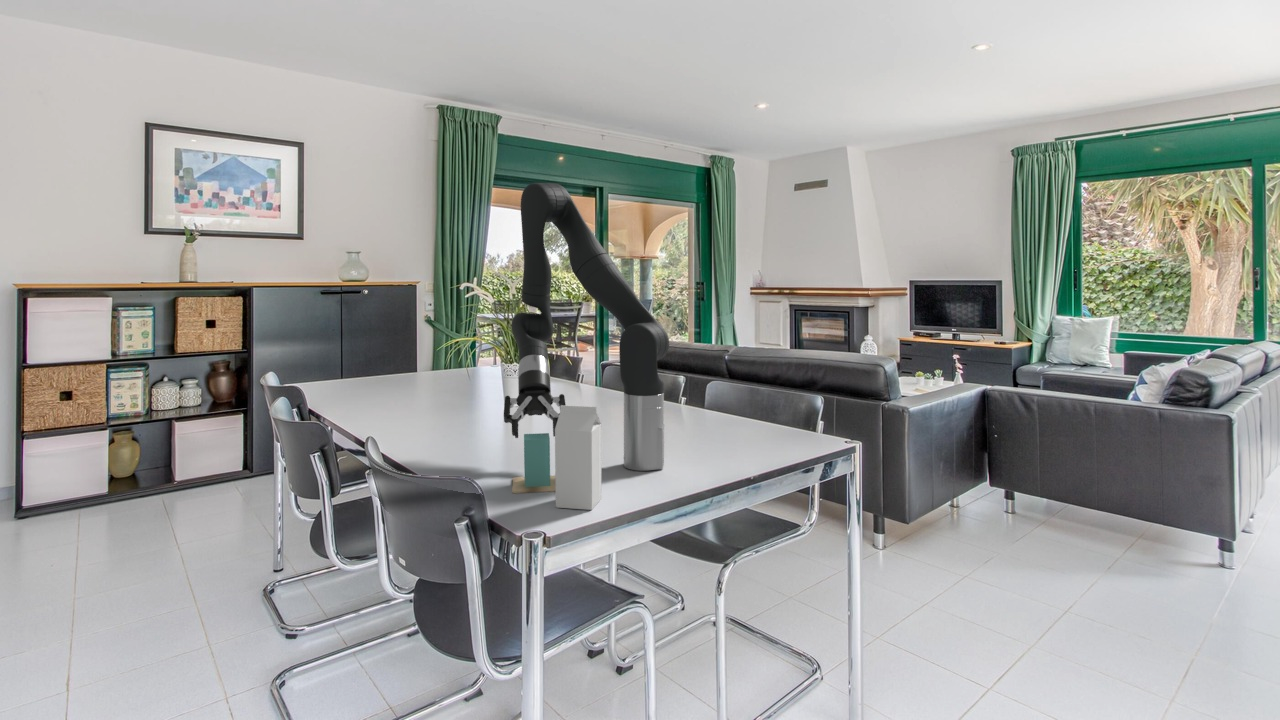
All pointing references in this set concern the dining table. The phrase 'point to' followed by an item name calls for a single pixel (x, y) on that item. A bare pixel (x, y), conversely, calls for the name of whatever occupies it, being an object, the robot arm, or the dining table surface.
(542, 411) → the robot arm
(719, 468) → the dining table surface
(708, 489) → the dining table surface
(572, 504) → the milk carton
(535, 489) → the post
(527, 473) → the tall teal foam brick
